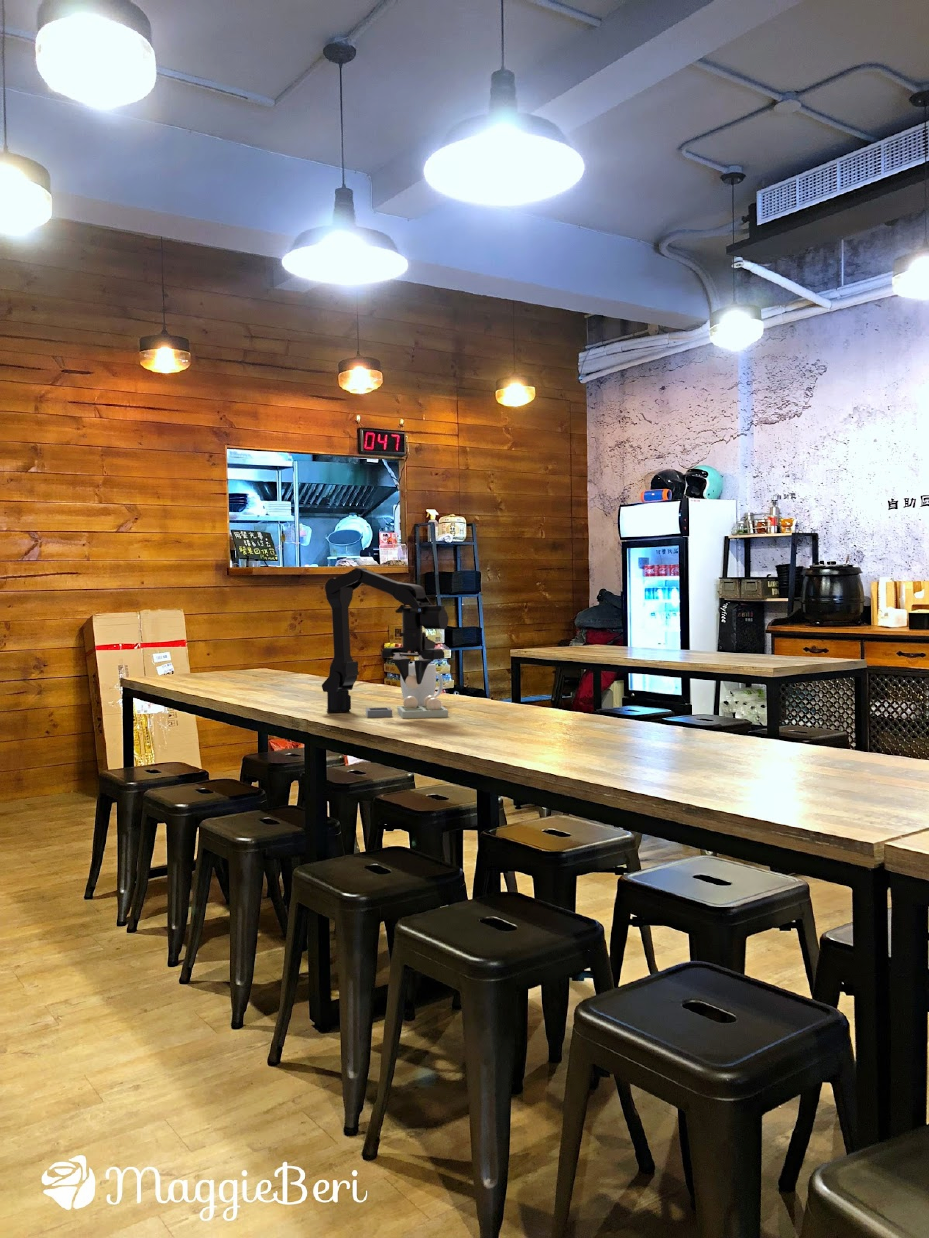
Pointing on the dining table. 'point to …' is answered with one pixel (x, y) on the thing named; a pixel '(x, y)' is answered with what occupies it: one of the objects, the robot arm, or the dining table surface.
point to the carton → (422, 708)
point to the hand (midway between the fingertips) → (412, 683)
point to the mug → (423, 684)
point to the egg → (411, 681)
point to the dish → (379, 712)
